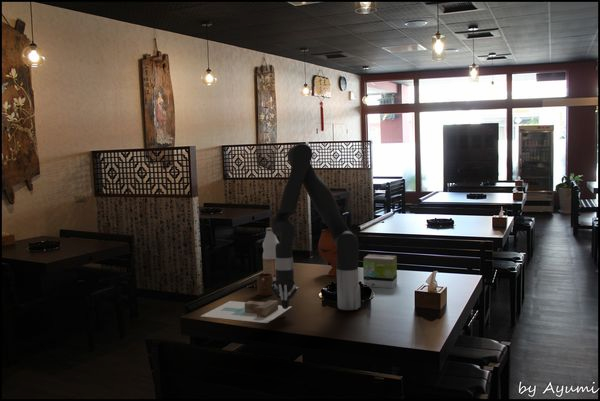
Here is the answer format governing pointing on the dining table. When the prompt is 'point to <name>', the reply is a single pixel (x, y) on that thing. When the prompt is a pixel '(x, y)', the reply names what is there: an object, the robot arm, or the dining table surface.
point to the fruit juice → (269, 253)
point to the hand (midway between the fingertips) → (285, 308)
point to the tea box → (380, 271)
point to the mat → (241, 312)
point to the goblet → (328, 250)
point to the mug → (264, 284)
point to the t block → (261, 307)
